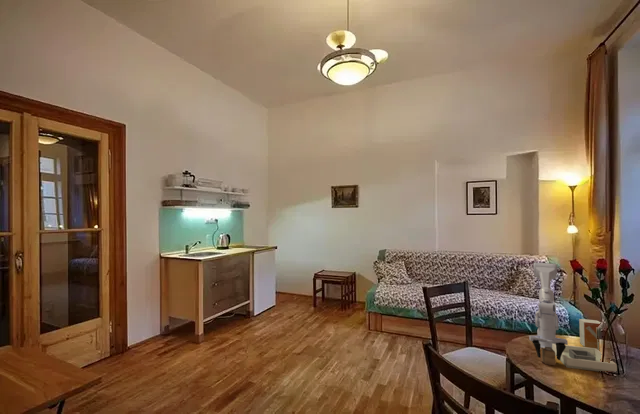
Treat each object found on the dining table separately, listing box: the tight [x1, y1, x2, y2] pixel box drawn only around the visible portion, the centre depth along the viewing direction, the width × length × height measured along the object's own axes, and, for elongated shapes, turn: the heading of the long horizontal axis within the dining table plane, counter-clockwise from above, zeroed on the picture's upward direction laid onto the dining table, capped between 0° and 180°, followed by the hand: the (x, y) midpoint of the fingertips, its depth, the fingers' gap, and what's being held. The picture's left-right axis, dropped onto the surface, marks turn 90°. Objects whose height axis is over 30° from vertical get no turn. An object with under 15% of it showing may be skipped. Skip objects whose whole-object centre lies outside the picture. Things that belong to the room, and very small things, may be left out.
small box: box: [578, 318, 602, 349], centre depth 166 cm, size 8×6×13 cm
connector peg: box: [541, 346, 556, 366], centre depth 147 cm, size 4×4×7 cm
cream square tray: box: [552, 344, 618, 373], centre depth 147 cm, size 18×18×4 cm
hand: (548, 358), depth 147 cm, fingers open, 7 cm apart
